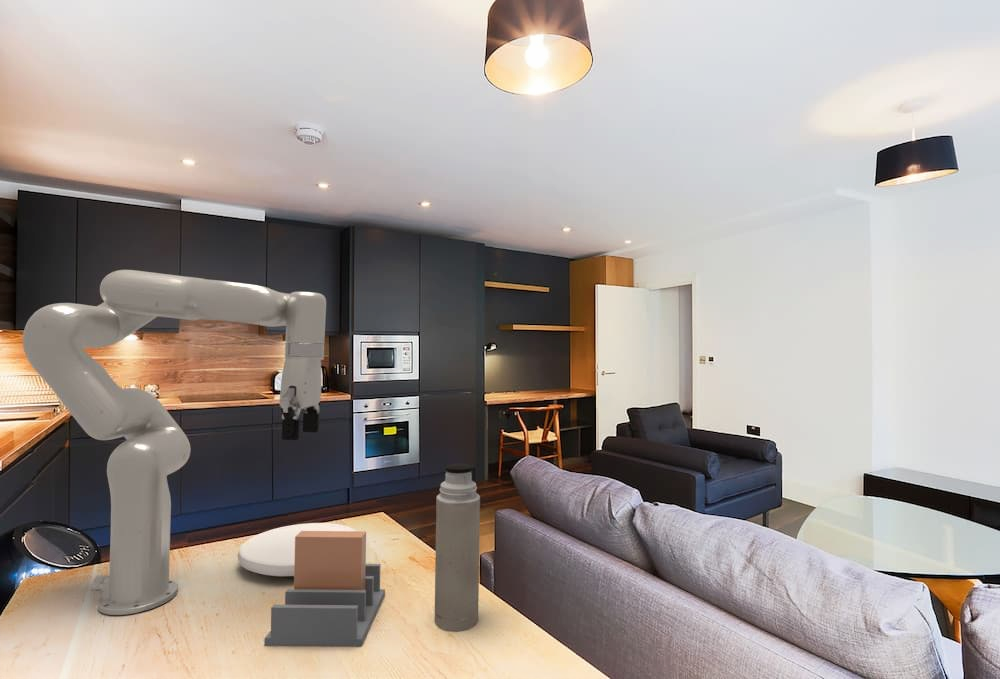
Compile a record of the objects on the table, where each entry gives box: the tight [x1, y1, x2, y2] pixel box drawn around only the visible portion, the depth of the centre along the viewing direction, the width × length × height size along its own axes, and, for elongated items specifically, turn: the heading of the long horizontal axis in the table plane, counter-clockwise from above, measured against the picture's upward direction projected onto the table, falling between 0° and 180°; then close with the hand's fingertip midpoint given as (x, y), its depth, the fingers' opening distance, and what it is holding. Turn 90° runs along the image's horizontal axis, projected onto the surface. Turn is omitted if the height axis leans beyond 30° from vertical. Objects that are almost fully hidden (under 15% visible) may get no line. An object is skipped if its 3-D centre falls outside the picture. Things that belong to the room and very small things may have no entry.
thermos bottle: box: [434, 463, 481, 632], centre depth 93 cm, size 8×8×28 cm
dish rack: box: [263, 563, 386, 647], centre depth 92 cm, size 16×18×6 cm
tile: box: [293, 530, 367, 590], centre depth 92 cm, size 12×3×14 cm, turn 91°
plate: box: [237, 522, 357, 577], centre depth 118 cm, size 28×6×27 cm
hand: (300, 435), depth 104 cm, fingers open, 9 cm apart
